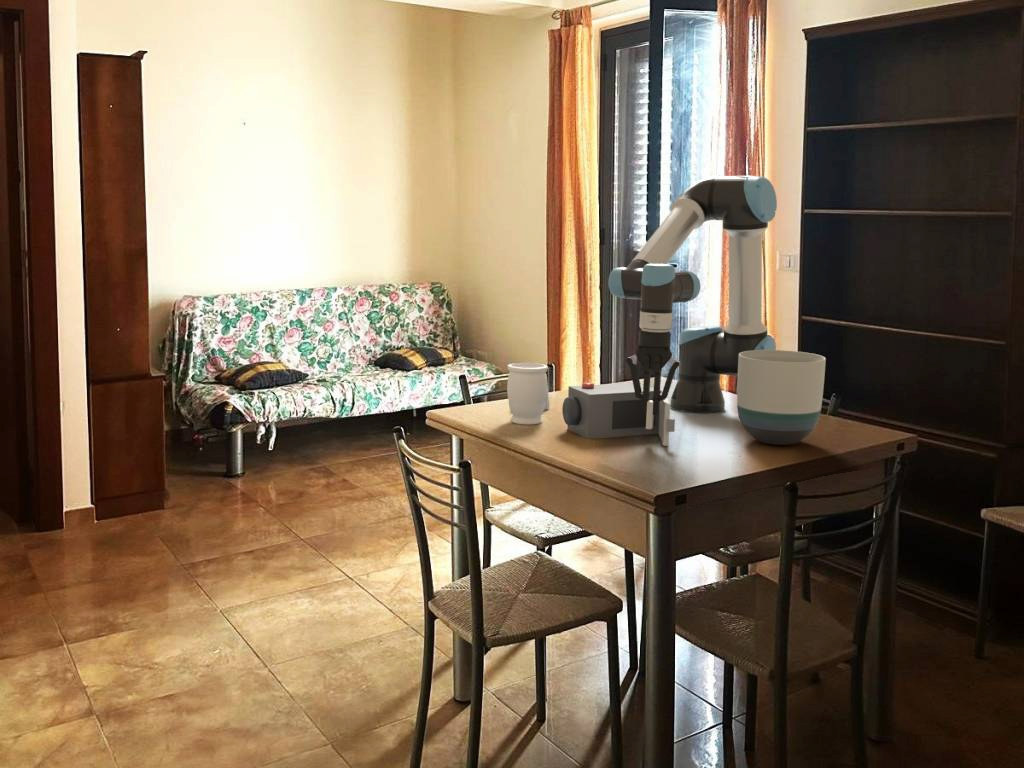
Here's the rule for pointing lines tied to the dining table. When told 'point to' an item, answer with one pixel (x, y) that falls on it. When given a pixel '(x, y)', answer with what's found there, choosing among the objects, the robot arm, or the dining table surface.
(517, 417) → the jar
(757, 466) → the dining table surface
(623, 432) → the camera body
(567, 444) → the dining table surface
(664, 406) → the door
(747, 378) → the planter
